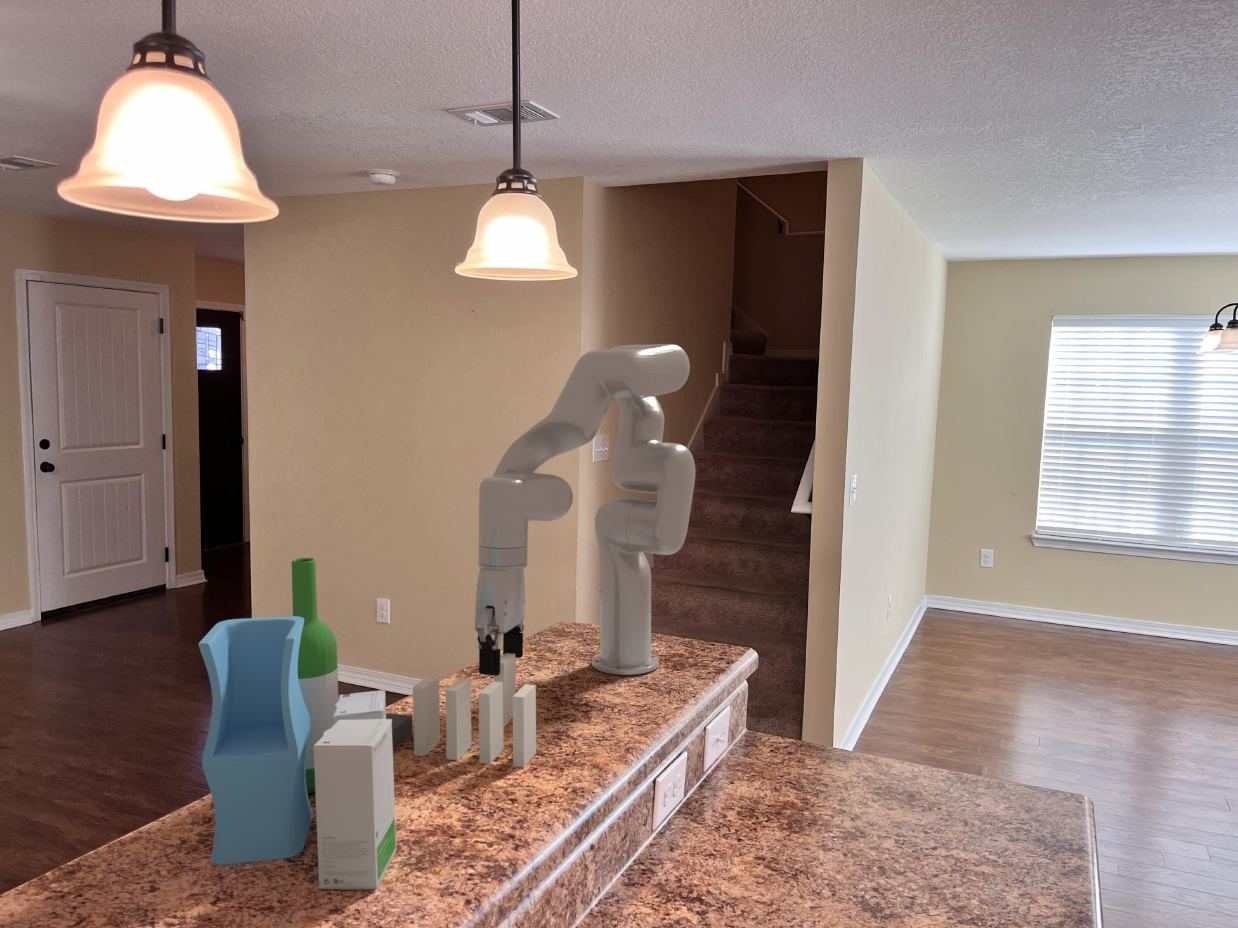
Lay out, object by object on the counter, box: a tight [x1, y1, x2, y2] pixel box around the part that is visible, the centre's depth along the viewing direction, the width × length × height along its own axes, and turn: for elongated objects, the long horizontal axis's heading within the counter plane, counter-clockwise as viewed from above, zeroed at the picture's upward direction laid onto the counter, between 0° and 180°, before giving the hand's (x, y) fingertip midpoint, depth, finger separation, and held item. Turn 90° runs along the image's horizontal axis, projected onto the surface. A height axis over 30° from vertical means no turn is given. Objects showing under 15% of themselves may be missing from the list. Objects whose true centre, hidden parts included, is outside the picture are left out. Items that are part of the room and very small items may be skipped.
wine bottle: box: [291, 557, 339, 794], centre depth 115 cm, size 8×8×30 cm
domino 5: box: [512, 683, 537, 769], centre depth 123 cm, size 2×5×10 cm, turn 166°
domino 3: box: [478, 680, 504, 765], centre depth 124 cm, size 2×5×10 cm, turn 166°
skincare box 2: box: [314, 719, 397, 890], centre depth 95 cm, size 8×7×16 cm
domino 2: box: [445, 678, 472, 761], centre depth 125 cm, size 2×5×10 cm, turn 166°
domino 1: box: [412, 675, 441, 757], centre depth 127 cm, size 2×5×10 cm, turn 166°
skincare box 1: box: [333, 689, 387, 725], centre depth 106 cm, size 8×6×15 cm
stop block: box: [386, 712, 414, 752], centre depth 128 cm, size 8×4×3 cm, turn 166°
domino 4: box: [493, 653, 517, 727], centre depth 138 cm, size 2×5×10 cm, turn 166°
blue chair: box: [198, 615, 314, 866], centre depth 101 cm, size 10×10×25 cm
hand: (501, 665), depth 137 cm, fingers open, 9 cm apart
